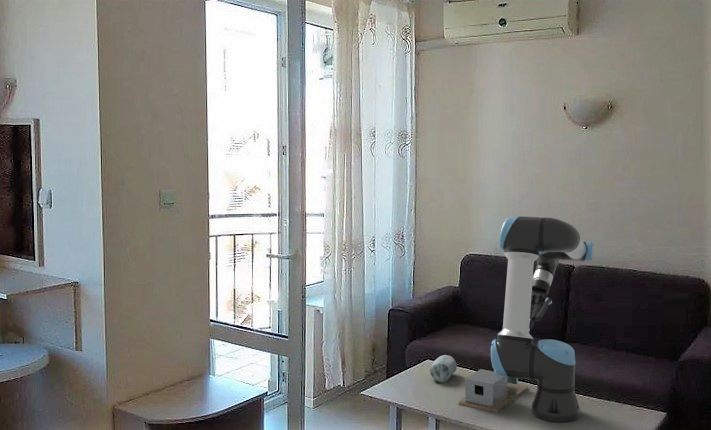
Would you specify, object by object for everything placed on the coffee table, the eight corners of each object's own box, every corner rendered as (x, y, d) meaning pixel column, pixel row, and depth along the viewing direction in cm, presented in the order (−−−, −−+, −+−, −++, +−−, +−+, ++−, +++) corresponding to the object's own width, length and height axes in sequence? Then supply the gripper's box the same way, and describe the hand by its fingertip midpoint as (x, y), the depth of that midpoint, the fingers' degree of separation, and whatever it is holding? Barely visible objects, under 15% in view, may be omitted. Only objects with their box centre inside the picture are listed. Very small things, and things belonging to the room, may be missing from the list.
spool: (451, 378, 254) (442, 351, 257) (429, 386, 258) (420, 360, 261) (466, 376, 265) (457, 351, 269) (444, 384, 269) (436, 359, 273)
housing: (491, 381, 259) (491, 357, 258) (528, 388, 251) (528, 364, 250) (458, 404, 237) (458, 378, 236) (497, 412, 229) (497, 386, 228)
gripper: (559, 290, 276) (543, 342, 264) (527, 287, 283) (511, 337, 271) (554, 280, 271) (538, 332, 259) (522, 276, 278) (505, 327, 267)
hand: (524, 334), depth 265 cm, fingers closed
